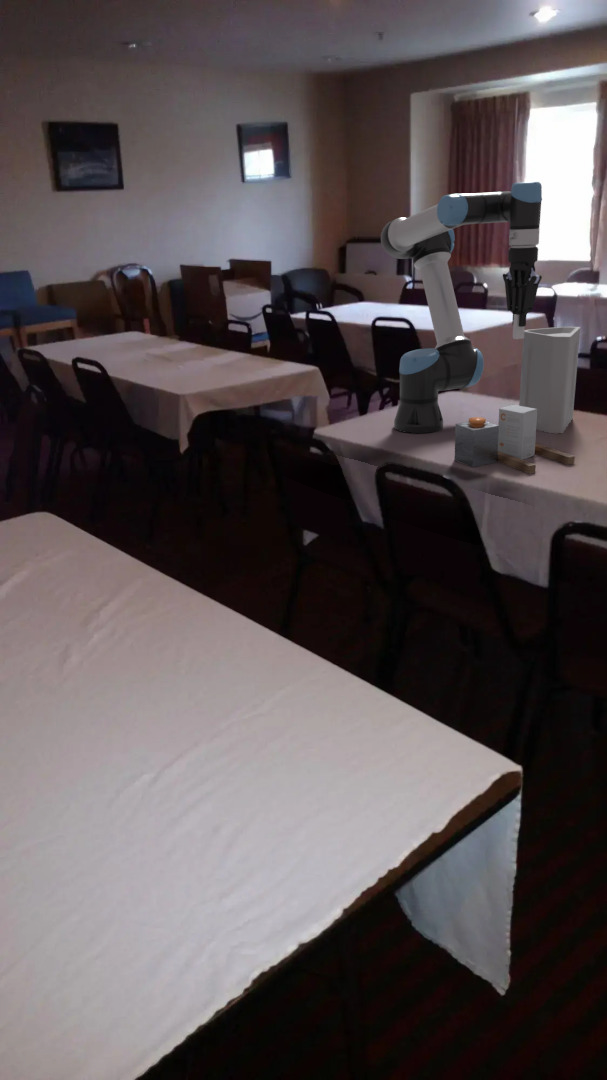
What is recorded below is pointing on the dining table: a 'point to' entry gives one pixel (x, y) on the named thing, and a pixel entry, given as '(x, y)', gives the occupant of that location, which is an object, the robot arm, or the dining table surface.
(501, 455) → the track
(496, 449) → the grey block with hole
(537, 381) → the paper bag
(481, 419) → the orange piece
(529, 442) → the small box
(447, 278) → the robot arm
